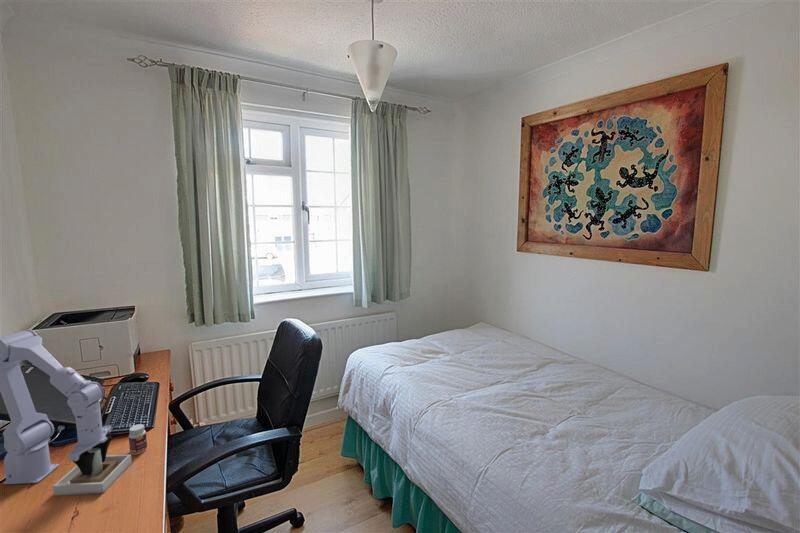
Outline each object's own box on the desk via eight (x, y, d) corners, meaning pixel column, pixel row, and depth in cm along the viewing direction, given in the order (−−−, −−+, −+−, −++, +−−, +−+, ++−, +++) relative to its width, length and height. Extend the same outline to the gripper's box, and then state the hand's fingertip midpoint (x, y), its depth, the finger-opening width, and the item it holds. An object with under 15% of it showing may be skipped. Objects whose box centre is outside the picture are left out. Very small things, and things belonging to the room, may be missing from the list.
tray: (54, 495, 106) (52, 486, 105) (87, 465, 119) (86, 456, 118) (103, 493, 107) (102, 483, 106) (131, 463, 120) (130, 454, 119)
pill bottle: (138, 456, 123) (136, 432, 122) (126, 454, 124) (124, 430, 123) (151, 447, 128) (148, 424, 127) (139, 445, 129) (136, 422, 128)
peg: (82, 481, 111) (79, 456, 110) (93, 472, 115) (90, 447, 113) (96, 481, 111) (93, 456, 110) (106, 472, 115) (104, 447, 113)
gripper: (85, 439, 104) (91, 484, 105) (119, 412, 118) (123, 452, 120) (58, 440, 103) (63, 485, 105) (95, 412, 117) (100, 453, 119)
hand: (94, 468), depth 112 cm, fingers open, 5 cm apart
